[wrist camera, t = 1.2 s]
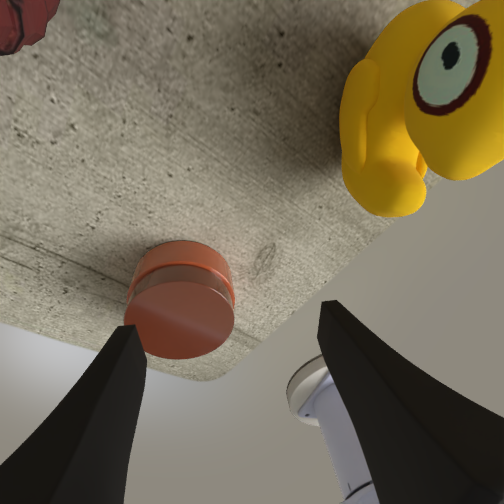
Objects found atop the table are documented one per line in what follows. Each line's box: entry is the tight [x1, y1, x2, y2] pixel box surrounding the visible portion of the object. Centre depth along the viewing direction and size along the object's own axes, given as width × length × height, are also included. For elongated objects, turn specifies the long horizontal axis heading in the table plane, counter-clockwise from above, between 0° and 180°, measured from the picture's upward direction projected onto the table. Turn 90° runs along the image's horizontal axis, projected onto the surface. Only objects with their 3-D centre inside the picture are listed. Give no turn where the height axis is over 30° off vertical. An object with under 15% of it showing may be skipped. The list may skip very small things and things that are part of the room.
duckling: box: [339, 0, 504, 217], centre depth 13 cm, size 11×5×10 cm, turn 172°
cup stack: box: [124, 241, 235, 359], centre depth 20 cm, size 7×7×4 cm
